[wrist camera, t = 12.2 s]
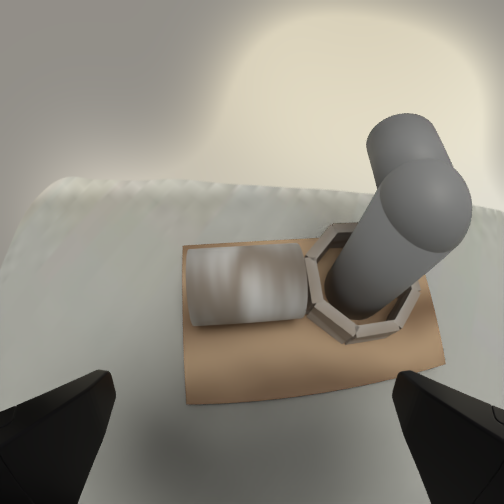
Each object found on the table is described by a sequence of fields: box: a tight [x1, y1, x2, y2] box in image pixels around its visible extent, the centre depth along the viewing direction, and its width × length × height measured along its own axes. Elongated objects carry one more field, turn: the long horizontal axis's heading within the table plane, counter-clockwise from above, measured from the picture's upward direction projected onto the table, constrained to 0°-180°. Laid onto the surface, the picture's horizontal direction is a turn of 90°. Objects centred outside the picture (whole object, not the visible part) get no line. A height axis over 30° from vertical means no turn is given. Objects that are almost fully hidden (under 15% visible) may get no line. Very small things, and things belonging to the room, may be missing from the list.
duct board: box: [182, 223, 446, 404], centre depth 21 cm, size 12×20×6 cm, turn 95°
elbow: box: [324, 113, 472, 320], centre depth 18 cm, size 7×5×14 cm
